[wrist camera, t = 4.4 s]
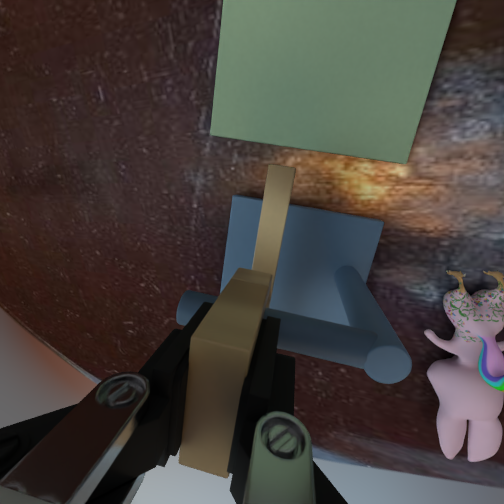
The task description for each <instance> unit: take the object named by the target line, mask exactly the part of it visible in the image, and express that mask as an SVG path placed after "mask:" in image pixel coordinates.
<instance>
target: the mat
mask: <svg viewBox="0 0 504 504" xmlns="http://www.w3.org/2000/svg"><path fill="white" fill-rule="evenodd" d="M456 1H457V0H224V1H223V11H222V21H221V31H220V41H219V51H218V61H217V71H216V81H215V91H214V101H213V111H212V121H211V131H210V135H212V136H218V137H225V138H232V139H238V140H245V141H252V142H258V143H265V144H272V145H279V146H285V147H292V148H299V149H306V150H312V151H319V152H326V153H332V154H339V155H346V156H353V157H359V158H366V159H373V160H380V161H386V162H393V163H400V164H406V163H407V160H408V156H409V153H410V150H411V147H412V143H413V140H414V137H415V134H416V130H417V127H418V124H419V121H420V118H421V114H422V111H423V108H424V105H425V101H426V98H427V95H428V92H429V88H430V85H431V82H432V79H433V75H434V72H435V69H436V66H437V62H438V59H439V56H440V53H441V49H442V46H443V43H444V40H445V36H446V33H447V30H448V27H449V23H450V20H451V17H452V14H453V11H454V7H455V4H456Z"/></svg>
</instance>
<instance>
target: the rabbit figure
mask: <svg viewBox="0 0 504 504" xmlns="http://www.w3.org/2000/svg"><path fill="white" fill-rule="evenodd" d="M446 272H447V274H450V275H454V277H456V278H457V279H458V281H459V288H458V289H453V290H450V291H448V292H447V293H446V294H445V295H444V297H443V305H444V309H445V312H446V314H447V316H448V317H449V319H450V320H451V322H452V323H453V325H454V326H455V328H456V330H455V333H454V335H453V337H452V339H451V340H450V341H446V340H443V339H440V338H438V337H437V336H436V335H435V333H434V332H433V331H432V330H430V329H427V330H425V332H424V333H425V335H426V336H427V337H428V338H429V339H430V340H431V341H432V342H433V343H434V344H436V345H437V346H439V347H440V348H442V349H444V350H446V351H448V352H451V353H453V354H455V355H454V356H453V357H452V358H448V359H443V360H438V361H435V362H434V363H432V364H431V366H430V367H429V369H428V371H427V376H428V378H429V380H430V382H431V383H432V385H433V387H434V389H435V391H436V393H437V395H438V397H439V401H440V407H439V410H438V414H437V430H438V435H439V441H440V445H441V449H442V451H443V453H444V455H445V456H446V457H447V458H448V459H453V458H454V456H455V455H456V454H457V453H458V452H459V451H460V449H461V448H462V446H463V442H464V437H465V433H466V420H467V419H468V420H469V427H468V460H469V461H470V462H476V461H481V460H484V459H487V458H489V457H491V456H493V455H494V454H495V453H496V452H497V451H498V449H499V446H500V443H501V440H502V426H501V423H500V421H499V420H498V418H497V417H498V415H499V414H500V412H501V410H502V406H503V397H504V356H503V354H502V352H501V351H504V341H501V342H496V340H495V335H496V334H498V333H499V332H500V331H501V330H502V328H503V327H504V282H503V277H504V276H503V274H502V273H500V272H498V270H497V272H496V271H493V272H490V271H489V270H488V273H486V272H485V271H483V272H484V273H485V274H488V275H492V276H493V277H495V278H496V279H497V280H498V287H497V288H496V289H493V290H479V291H476V292H475V293H474V294H473V295H472V296H470V295H469V294H468V293H467V292H466V290H465V288H464V286H463V280H462V277H465V274H464V275H463V274H462V273H461V271H460V272H458V271H450V270H449V273H448V271H446Z"/></svg>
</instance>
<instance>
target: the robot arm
mask: <svg viewBox="0 0 504 504" xmlns="http://www.w3.org/2000/svg"><path fill="white" fill-rule="evenodd" d="M213 304H214V303H209V302H203V304H202V305H201V306H200V308H199V309H198V310H197V311H196V313H195V314H194V315H193V317H192V318H191V319H190V321H189V322H188V323H187V324H186V326H185V327H184V328H183V330H179V329H174V330H173V331H172V332H171V333H170V334H169V336H168V337H167V338H166V339H165V341H164V342H163V343H162V344H161V345H160V347H159V348H158V349H157V350H156V351H155V353H154V354H153V355H152V356H151V357H150V359H149V360H148V361H147V362H146V363H145V365H144V366H143V367H142V368H141V369H140V371H139V372H138V373H137V372H131V371H130V372H120V373H117V374H113V375H111V376H109V377H107V378H105V379H104V380H103V381H101V382H100V383H99V384H98V385H97V386H96V387H95V388H94V389H93V390H92V391H91V392H90V393H89V394H88V395H87V396H86V397H85V398H84V399H83V400H82V401H80V402H79V403H78V404H75V405H72V406H69V407H66V408H62V409H59V410H56V411H53V412H50V413H47V414H44V415H41V416H38V417H35V418H32V419H28V420H25V421H22V422H19V423H16V424H13V425H10V426H6V427H3V428H1V429H0V504H130V503H131V501H132V500H133V498H134V496H135V494H136V492H137V490H138V489H139V487H140V485H141V483H142V481H143V478H144V476H145V472H147V471H149V470H151V469H153V468H155V467H156V465H159V466H162V467H165V465H166V463H167V461H168V458H169V456H170V455H172V456H176V454H177V452H178V450H179V448H180V446H181V440H182V430H183V420H184V410H185V400H186V390H187V380H188V370H189V352H190V342H191V337H192V335H193V334H194V332H195V331H196V329H197V328H198V326H199V325H200V323H201V322H202V320H203V319H204V317H205V316H206V314H207V313H208V311H209V310H210V309H211V307H212V306H213ZM280 322H281V319H280V318H275V317H271V316H267V319H263V318H262V322H261V325H260V329H259V333H258V337H257V340H256V344H255V348H254V352H253V355H252V359H251V363H250V367H249V370H248V374H247V377H245V379H244V382H243V386H242V390H241V395H240V400H239V405H238V411H237V416H236V422H235V428H234V433H233V439H232V445H231V450H230V456H229V461H228V467H227V472H228V473H232V474H233V475H232V481H231V486H230V492H231V494H232V496H233V498H234V499H235V502H236V504H348V503H347V502H346V501H345V499H344V498H343V497H342V496H341V494H340V493H339V492H338V491H337V490H336V488H335V487H334V486H333V485H332V483H331V482H330V481H329V480H328V478H327V477H326V476H325V475H324V473H323V472H322V471H321V470H320V468H319V467H318V466H317V465H316V463H315V462H314V461H313V456H312V443H311V439H310V435H309V433H308V431H307V429H306V427H305V426H304V425H303V424H302V423H301V422H300V420H298V419H297V418H295V417H294V384H295V358H294V357H290V356H286V355H282V354H278V353H276V351H277V344H278V337H279V329H280Z"/></svg>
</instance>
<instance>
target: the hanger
mask: <svg viewBox="0 0 504 504" xmlns="http://www.w3.org/2000/svg"><path fill="white" fill-rule="evenodd" d="M295 173H296V168H293V167H287V166H280V165H274V164H269V166H268V173H267V179H266V185H265V191H264V197H263V203H262V209H261V215H260V221H259V228H258V234H257V240H256V246H255V252H254V258H253V264H252V270H250V269H245V268H238V269H237V271H236V272H235V274H234V275H233V276H232V278H231V279H230V281H229V282H228V284H227V285H226V286H225V288H224V289H223V291H222V292H221V294H220V295H219V297H218V298H217V300H216V301H215V303H214V304H213V306H212V307H211V309H210V310H209V311H208V313H207V314H206V316H205V317H204V319H203V320H202V322H201V323H200V325H199V326H198V328H197V329H196V331H195V332H194V334H193V335H192V337H191V342H190V352H189V370H188V380H187V390H186V400H185V410H184V420H183V430H182V440H181V446H180V452H179V464H181V465H185V466H188V467H191V468H194V469H197V470H201V471H204V472H207V473H211V474H214V475H217V476H220V477H223V478H228V476H229V473H228V472H227V467H228V461H229V456H230V450H231V445H232V439H233V433H234V428H235V422H236V416H237V411H238V405H239V400H240V395H241V390H242V386H243V382H244V379H245V377H247V374H248V370H249V367H250V363H251V359H252V355H253V352H254V348H255V344H256V340H257V337H258V333H259V329H260V325H261V322H262V318H264V313H265V307H266V308H269V307H270V302H271V297H272V291H273V286H274V281H275V276H276V271H277V266H278V260H279V255H280V250H281V245H282V240H283V235H284V229H285V224H286V219H287V214H288V209H289V204H290V198H291V193H292V188H293V183H294V178H295Z"/></svg>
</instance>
